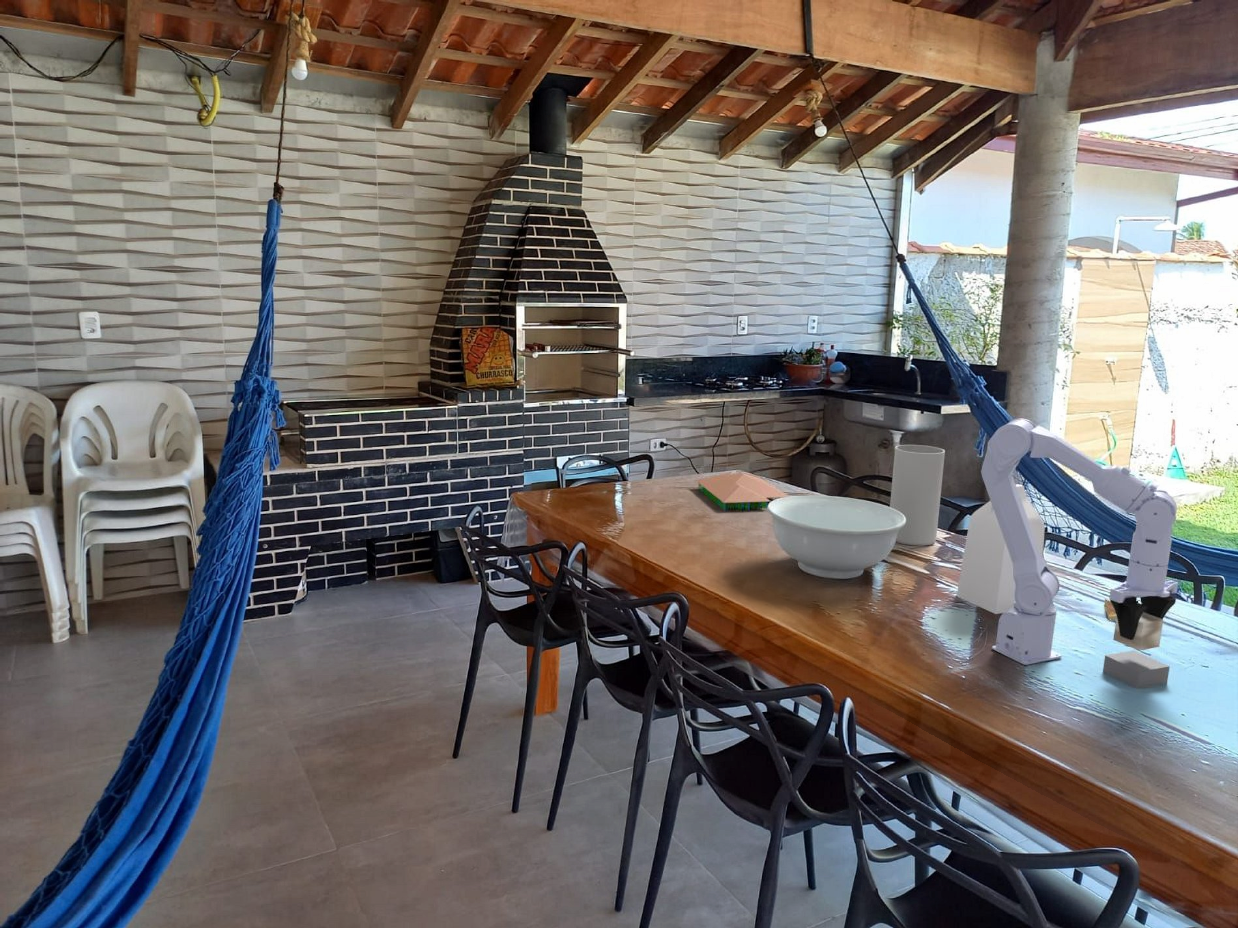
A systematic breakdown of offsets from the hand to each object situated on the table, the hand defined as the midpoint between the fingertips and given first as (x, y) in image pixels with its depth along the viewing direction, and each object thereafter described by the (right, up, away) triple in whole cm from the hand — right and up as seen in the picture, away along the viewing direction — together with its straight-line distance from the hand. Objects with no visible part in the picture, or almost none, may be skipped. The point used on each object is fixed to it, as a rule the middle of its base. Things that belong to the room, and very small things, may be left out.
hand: (1137, 635), depth 152 cm
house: (-52, +19, +126) cm, 137 cm away
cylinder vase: (-12, +9, +83) cm, 84 cm away
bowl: (-40, +5, +57) cm, 70 cm away
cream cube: (0, -1, 0) cm, 2 cm away
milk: (-8, 0, +38) cm, 38 cm away
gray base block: (0, -8, +1) cm, 8 cm away
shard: (+14, -3, +31) cm, 34 cm away
